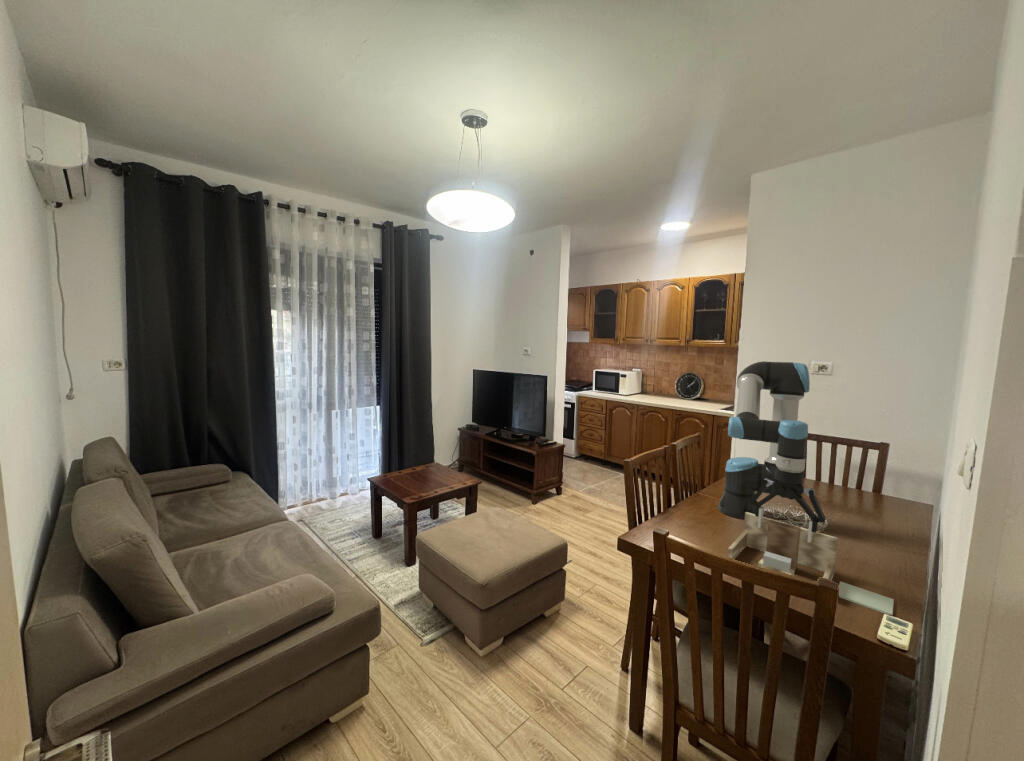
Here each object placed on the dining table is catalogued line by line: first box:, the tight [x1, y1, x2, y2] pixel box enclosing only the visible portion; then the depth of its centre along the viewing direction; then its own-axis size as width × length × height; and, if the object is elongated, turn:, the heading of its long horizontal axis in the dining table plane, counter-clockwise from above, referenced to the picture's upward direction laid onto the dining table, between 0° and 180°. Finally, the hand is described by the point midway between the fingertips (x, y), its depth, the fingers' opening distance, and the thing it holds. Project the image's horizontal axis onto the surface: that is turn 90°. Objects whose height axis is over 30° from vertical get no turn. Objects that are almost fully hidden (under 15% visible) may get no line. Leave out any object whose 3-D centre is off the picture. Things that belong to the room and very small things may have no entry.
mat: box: [838, 581, 895, 616], centre depth 117 cm, size 12×9×1 cm
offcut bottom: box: [757, 558, 795, 577], centre depth 129 cm, size 9×4×3 cm, turn 41°
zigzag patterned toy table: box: [727, 512, 839, 581], centre depth 131 cm, size 26×19×12 cm
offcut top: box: [762, 551, 791, 572], centre depth 129 cm, size 7×4×3 cm, turn 51°
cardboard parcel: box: [766, 519, 801, 574], centre depth 133 cm, size 8×4×14 cm, turn 45°
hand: (783, 533), depth 132 cm, fingers open, 13 cm apart
